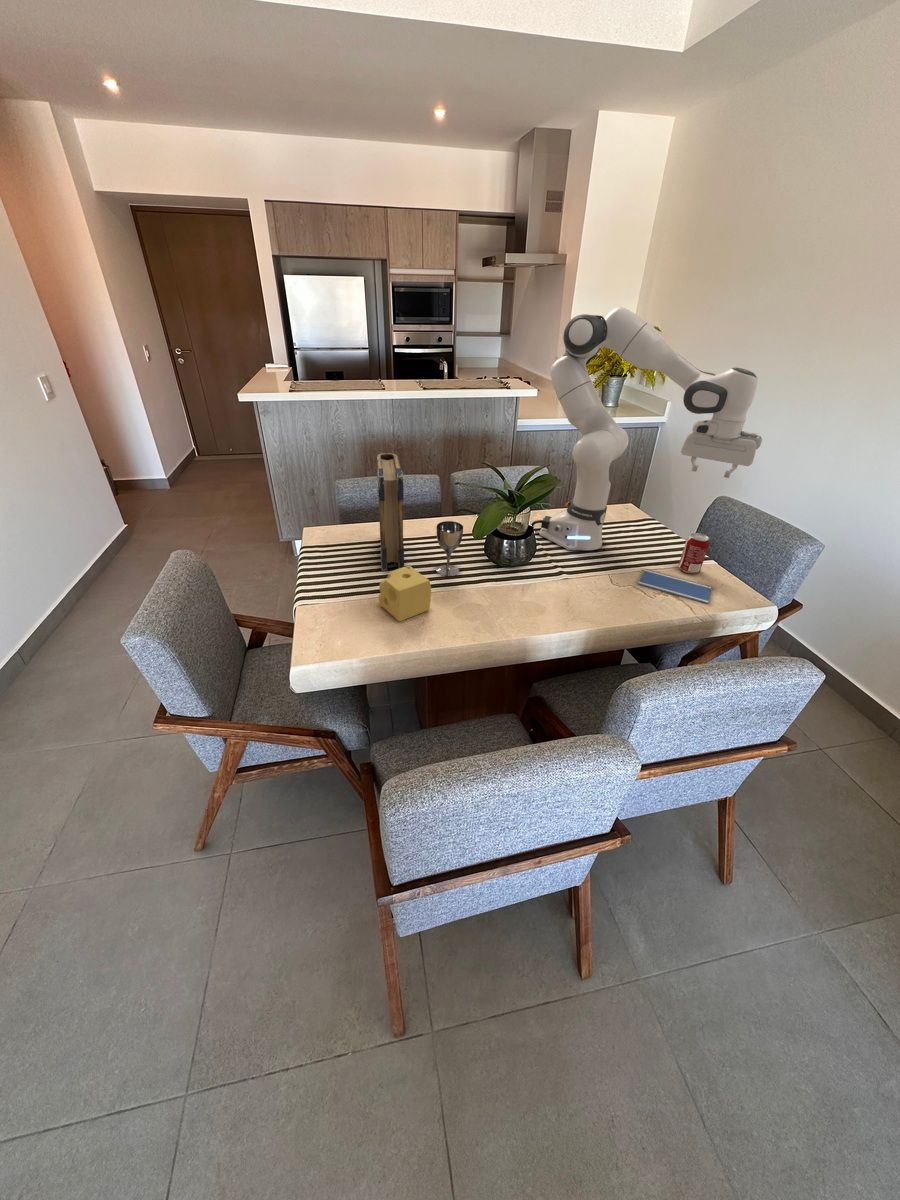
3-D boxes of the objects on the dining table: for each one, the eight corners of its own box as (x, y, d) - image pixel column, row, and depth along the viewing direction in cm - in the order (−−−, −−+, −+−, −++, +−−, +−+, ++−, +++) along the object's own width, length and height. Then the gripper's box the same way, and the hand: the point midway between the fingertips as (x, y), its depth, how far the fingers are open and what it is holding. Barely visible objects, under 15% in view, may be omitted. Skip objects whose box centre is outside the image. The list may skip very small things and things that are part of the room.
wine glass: (455, 562, 160) (457, 519, 152) (464, 574, 154) (467, 530, 145) (431, 566, 157) (433, 522, 149) (439, 578, 151) (441, 533, 143)
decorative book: (404, 569, 155) (403, 476, 138) (381, 570, 154) (377, 476, 137) (399, 536, 174) (398, 451, 158) (378, 537, 173) (375, 451, 157)
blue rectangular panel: (638, 584, 153) (638, 583, 153) (645, 569, 161) (645, 568, 161) (707, 604, 145) (707, 603, 145) (711, 587, 154) (711, 586, 153)
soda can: (701, 576, 159) (713, 542, 153) (679, 573, 160) (690, 539, 154) (697, 566, 165) (708, 533, 158) (675, 563, 166) (686, 530, 159)
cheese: (378, 605, 138) (377, 574, 132) (411, 593, 143) (411, 563, 138) (398, 623, 131) (398, 591, 125) (432, 610, 136) (432, 579, 131)
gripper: (764, 432, 145) (747, 478, 153) (690, 421, 153) (677, 465, 161) (764, 436, 141) (746, 483, 148) (688, 425, 149) (674, 470, 156)
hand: (709, 474), depth 155 cm, fingers open, 8 cm apart
